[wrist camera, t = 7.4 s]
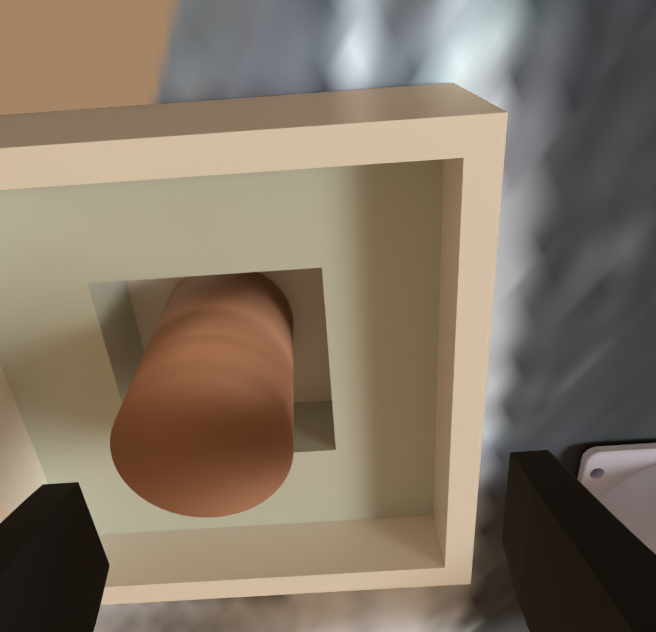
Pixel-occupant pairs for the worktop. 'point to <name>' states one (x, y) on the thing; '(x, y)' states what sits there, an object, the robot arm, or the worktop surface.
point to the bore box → (308, 322)
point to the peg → (211, 399)
